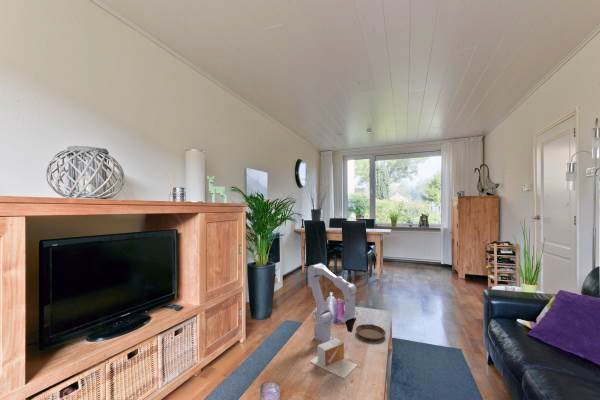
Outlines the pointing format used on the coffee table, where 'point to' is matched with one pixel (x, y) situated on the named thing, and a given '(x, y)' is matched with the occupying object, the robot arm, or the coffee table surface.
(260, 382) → the coffee table surface
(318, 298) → the robot arm
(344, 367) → the mat
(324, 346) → the small box
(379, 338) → the plant saucer
